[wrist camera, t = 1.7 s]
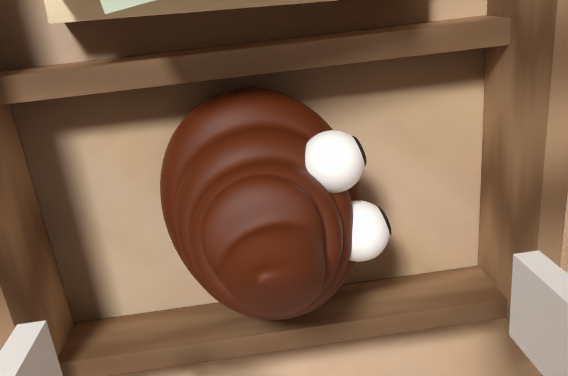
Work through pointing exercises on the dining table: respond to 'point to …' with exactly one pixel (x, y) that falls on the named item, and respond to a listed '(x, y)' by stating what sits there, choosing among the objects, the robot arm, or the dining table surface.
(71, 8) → the tan flat rectangular block
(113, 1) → the offcut top
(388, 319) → the tray
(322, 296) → the poop emoji
